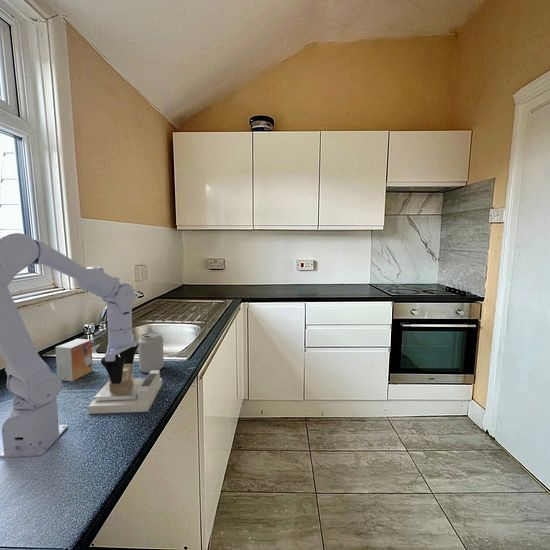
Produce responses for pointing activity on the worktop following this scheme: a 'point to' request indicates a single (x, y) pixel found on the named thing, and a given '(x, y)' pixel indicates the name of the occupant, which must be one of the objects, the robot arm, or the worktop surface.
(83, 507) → the worktop surface
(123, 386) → the beech block
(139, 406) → the scale base
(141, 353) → the can
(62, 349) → the small box
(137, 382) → the pan
